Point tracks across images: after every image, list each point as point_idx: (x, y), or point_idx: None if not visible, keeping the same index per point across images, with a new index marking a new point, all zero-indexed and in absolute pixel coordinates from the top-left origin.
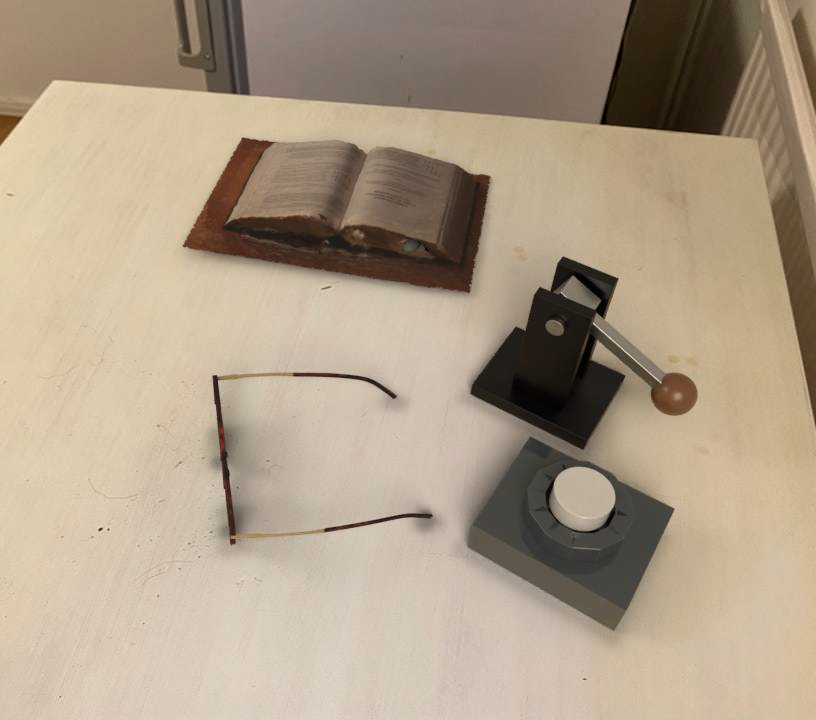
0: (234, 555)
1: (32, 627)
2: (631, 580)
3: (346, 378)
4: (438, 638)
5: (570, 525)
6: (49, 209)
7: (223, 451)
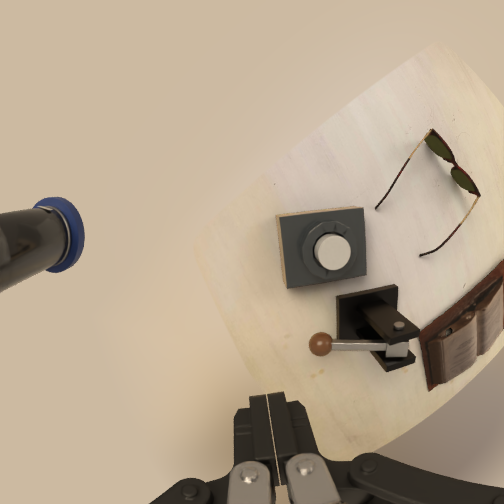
0: (419, 137)
1: (438, 77)
2: (285, 234)
3: (443, 242)
4: (337, 156)
5: (328, 234)
6: None
7: (457, 165)
